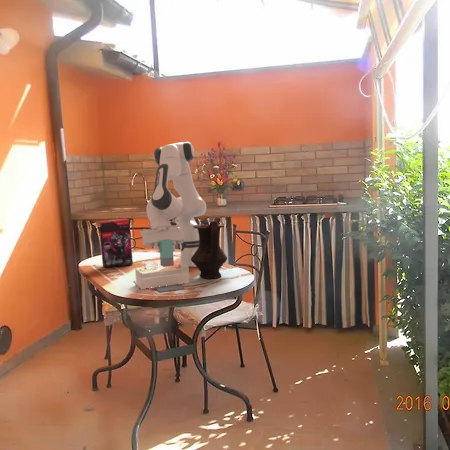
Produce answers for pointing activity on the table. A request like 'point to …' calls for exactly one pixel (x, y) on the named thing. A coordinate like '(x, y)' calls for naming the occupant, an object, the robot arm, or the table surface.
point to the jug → (209, 251)
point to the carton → (162, 277)
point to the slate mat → (169, 287)
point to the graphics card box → (115, 243)
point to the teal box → (166, 253)
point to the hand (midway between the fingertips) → (166, 251)
